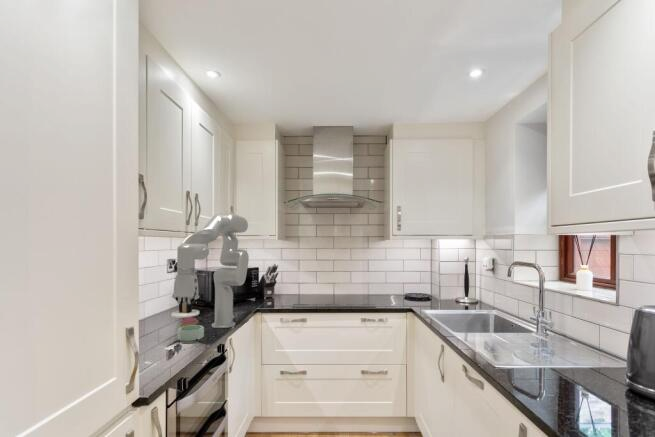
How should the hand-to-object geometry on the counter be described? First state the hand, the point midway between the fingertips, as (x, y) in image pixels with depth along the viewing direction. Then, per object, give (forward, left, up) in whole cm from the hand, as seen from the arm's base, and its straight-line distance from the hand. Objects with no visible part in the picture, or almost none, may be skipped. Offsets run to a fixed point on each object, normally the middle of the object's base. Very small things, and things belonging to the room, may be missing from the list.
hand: (185, 311), depth 164 cm
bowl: (-9, -2, -15) cm, 17 cm away
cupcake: (-21, -10, -15) cm, 28 cm away
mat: (+5, +1, -15) cm, 15 cm away
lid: (0, 0, -1) cm, 1 cm away
